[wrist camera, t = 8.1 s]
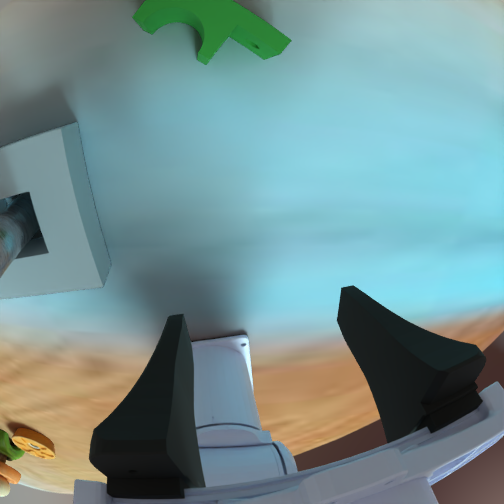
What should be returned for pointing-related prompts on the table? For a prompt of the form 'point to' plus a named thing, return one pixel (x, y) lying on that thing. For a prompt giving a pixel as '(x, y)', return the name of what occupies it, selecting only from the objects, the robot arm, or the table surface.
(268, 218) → the table surface
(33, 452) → the colorful stacking toy
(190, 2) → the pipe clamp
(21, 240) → the pin
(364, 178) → the table surface
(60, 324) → the table surface
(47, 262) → the socket board
